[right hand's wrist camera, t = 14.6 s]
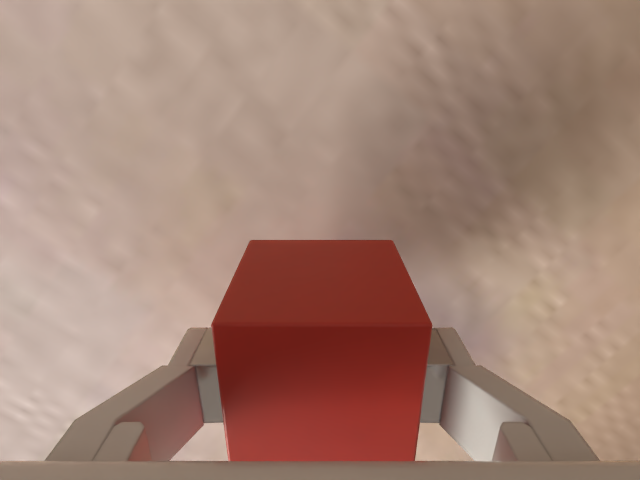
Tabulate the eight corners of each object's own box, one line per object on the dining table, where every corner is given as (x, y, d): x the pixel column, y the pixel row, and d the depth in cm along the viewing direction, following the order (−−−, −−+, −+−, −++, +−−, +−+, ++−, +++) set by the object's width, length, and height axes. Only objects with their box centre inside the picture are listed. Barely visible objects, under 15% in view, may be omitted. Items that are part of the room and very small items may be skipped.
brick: (382, 371, 13) (411, 498, 9) (259, 371, 13) (232, 498, 9) (393, 238, 11) (433, 324, 7) (249, 238, 11) (209, 324, 7)
